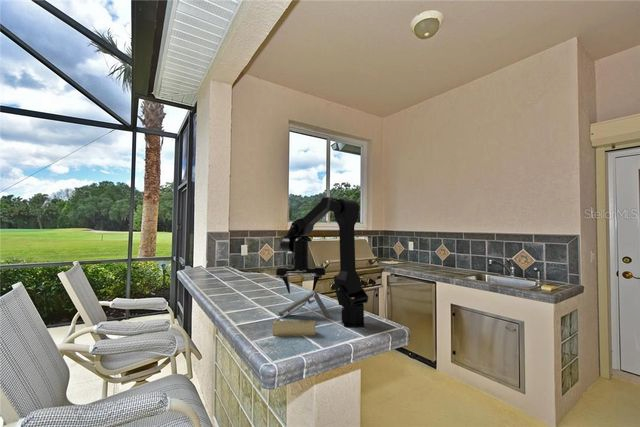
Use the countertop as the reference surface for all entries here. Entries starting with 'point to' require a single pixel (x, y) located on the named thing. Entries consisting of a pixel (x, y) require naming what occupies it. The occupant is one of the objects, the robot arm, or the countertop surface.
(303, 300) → the bracket
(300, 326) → the tan wooden block
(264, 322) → the countertop surface
